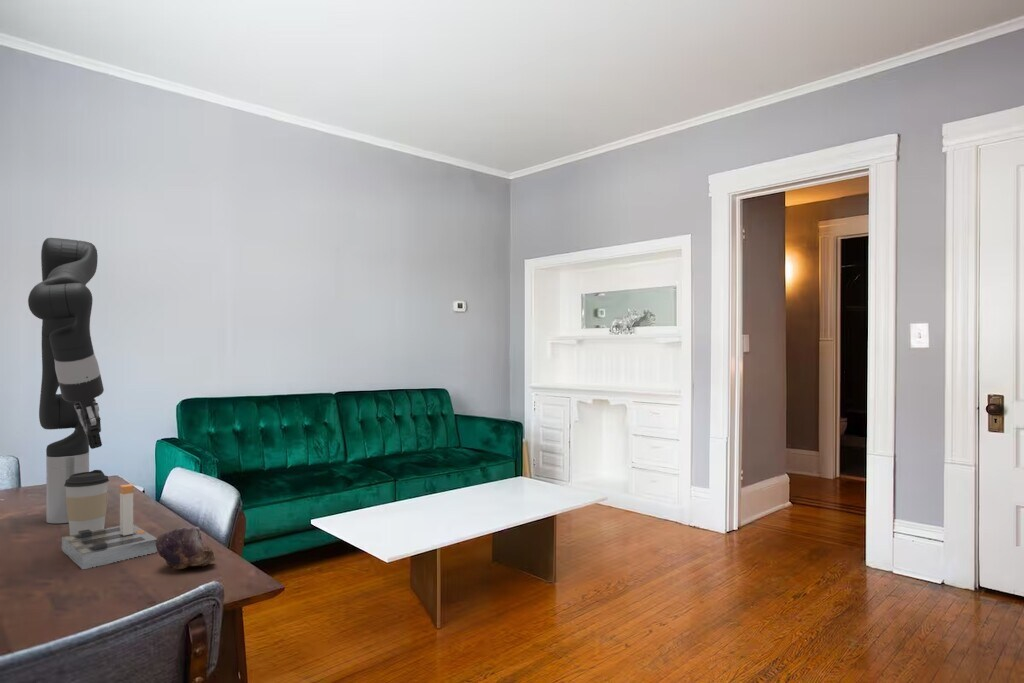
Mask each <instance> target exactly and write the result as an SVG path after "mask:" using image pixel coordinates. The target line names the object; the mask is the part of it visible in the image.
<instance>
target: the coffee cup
mask: <svg viewBox="0 0 1024 683" xmlns="http://www.w3.org/2000/svg"><path fill="white" fill-rule="evenodd" d="M109 481H110V479H109V476H108V475H105V473H104V472H103V471H102V470H101V469H93V470H91V471H89V472H82V473H76V474H73V475H71V476H70V477H69V479H67V480H66V481H65V484H64V486H65V488H66V495H65V497H66V507H67V517H68V520H69V522H68V530H69V535H74V534H78V531H82V530H88V529H89V530H90V531H95V530H100V529H105V522H106V515H107V508H108V507H107V506H108V505H107V504H108V497H109V490H108V484H109Z"/></svg>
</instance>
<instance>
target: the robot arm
mask: <svg viewBox="0 0 1024 683" xmlns="http://www.w3.org/2000/svg"><path fill="white" fill-rule="evenodd" d="M98 259H99V258H98V250H97V247H96V245H94V244H93V243H91V242H88V241H85V240H77V239H68V238H61V237H60V238H59V237H47V238H46V239H44V241H43V242H42V246H41V253H40V260H41V262H40V263H41V277H42V279H41V280H42V281H41V282H39V283H37V284H35V285H34V286H33V288H32V289H31V290H30V291H29V295H28V299H27V304H28V305H27V306H28V309H29V310H30V313H32V315H33V316H34V317H36V318H37V319H39V320H41V321H42V322H41V323H42V324H41V365H42V366H41V368H42V370H41V371H42V373H41V386H40V396H39V406H38V407H39V410H38V418H39V424H40V426H41V427H42V429H44V430H50V431H51V430H63V429H65V430H67V429H74V431H72V433H71V434H69V435H68V436H66V437H64V438H62V439H60V440H58V441H57V440H56V441H54V442H51V443H49V444H48V445H46V449H45V451H46V461H45V463H46V465H45V466H46V472H45V473H46V476H45V477H46V478H45V480H46V482H45V483H46V523H47V524H66V523H68V524H69V520H68V517H67V507H66V497H65V495H66V488H65V486H64V484H65V481H66V480H67V479H69V477H70V476H71V475H73V474H76V473H82V472H90V449H91V450H93V449H96V448H101V447H102V446H103V442H102V439H101V432H102V427H101V417H100V413H99V411H100V406H99V403H98V402H97V401H96V398H97V397H100V396H102V394H103V393H104V391H105V390H104V389H105V388H104V383H103V381H102V375H101V371H100V367H99V363H98V359H97V357H96V355H95V351H94V347H93V342H92V337H91V327H90V326H91V315H92V311H93V310H92V309H93V301H94V300H93V295H92V292H91V290H90V289H89V287H87V284H88V283H89V282H91V280H92V279H93V277H95V274H96V272H97V270H98V269H97V268H98ZM58 389H60V393H57V392H58Z"/></svg>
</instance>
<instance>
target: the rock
mask: <svg viewBox="0 0 1024 683" xmlns="http://www.w3.org/2000/svg"><path fill="white" fill-rule="evenodd" d="M156 538H157V540H156V548H157V552H158V553H157V554H158V555H159V556H160V558H162V559H164V560H165V564H167V566H168V567H169V568H171V569H173V570H182V569H186V568H188V567H194V568H195V567H204V566H207V565H208V564H210V563H213V562H215V561H216V557H214V556H215V553H214V551H213V549H212V548H211V547H210V546H204V545H203V542H202V541H203V540H202V533H201V529H200V527H199V526H187V525H186V526H181V527H178V528H176V529H173V530H170V531H166V532H165V533H163V534H161V535H159V536H157V537H156Z"/></svg>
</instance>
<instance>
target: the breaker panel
mask: <svg viewBox="0 0 1024 683" xmlns="http://www.w3.org/2000/svg"><path fill="white" fill-rule="evenodd" d="M157 538H158V537H156V536H154V535H152V534H151V533H149V532H147V531H145V530H144V529H142V528H140V527H139V526H137V525H136V524H134V523H133V534H129V535H124V536H123V535H121V534H120V525H117V526H111V527H107V528H105V527H104V529H100V530H95V531H90V530H89V529H88V530H82V531H78V534H74V535H70V534H69V535H64V536H61V551H62V552H63V553H64V554H65V555H66V556H67V555H68V556H67V557H69V559H70V560H72V562H74V564H75V565H77V566H78V567H79V568H80V569H81V570H83V569H84V570H89V569H92V567H93V568H96V566H97V567H100V566H106V565H109V564H110V565H111V564H114V563H113V562H115V563H118V562H117V561H119V562H121V561H120V560H123V561H126V560H125V559H128V560H130V559H129V558H132V559H135V558H134V557H137V558H139V557H138V556H141V557H144V556H143V555H145V556H148V555H147V554H150V555H152V554H151V553H154V554H156V553H155V552H157V548H156V540H157ZM84 570H83V571H84Z"/></svg>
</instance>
